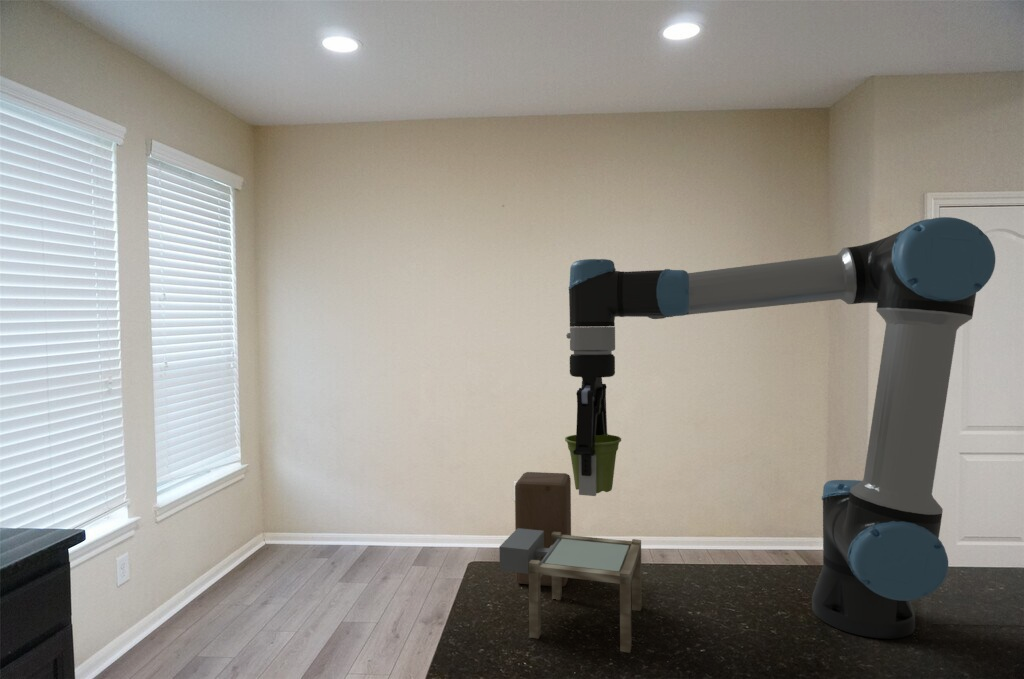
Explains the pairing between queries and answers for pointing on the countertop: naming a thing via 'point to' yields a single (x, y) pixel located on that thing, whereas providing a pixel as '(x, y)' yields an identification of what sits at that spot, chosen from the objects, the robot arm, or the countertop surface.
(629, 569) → the frame
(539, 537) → the trapdoor
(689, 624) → the countertop surface
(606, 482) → the plant pot
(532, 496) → the wooden block
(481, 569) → the countertop surface
